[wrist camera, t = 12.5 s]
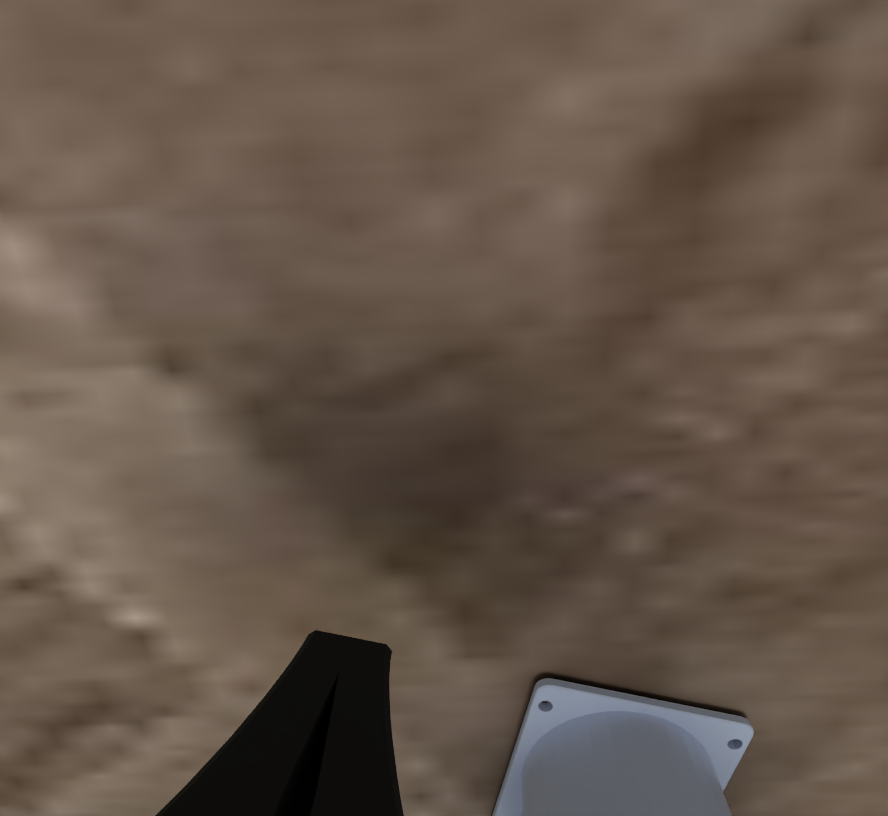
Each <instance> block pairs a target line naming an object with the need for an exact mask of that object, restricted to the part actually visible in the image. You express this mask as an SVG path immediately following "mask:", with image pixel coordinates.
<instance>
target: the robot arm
mask: <svg viewBox="0 0 888 816" xmlns="http://www.w3.org/2000/svg"><path fill="white" fill-rule="evenodd" d="M391 653H392V651H391V649H390V648H389V647H388V646H387V644H382V643H377V642H372V641H367V640H362V639H357V638H352V637H347V636H342V635H337V634H332V633H327V632H322V631H317V630H316V631H314V632H312V633H310V634H309V635H308V636H307V638H306V640H305V641H304V643H303V645H302V646H301V648H300V649H299V651H298V652H297V654H296V655H295V657H294V658H293V660H292V661H291V662H290V664H289V665H288V667H287V668H286V669H285V671H284V672H283V673H282V675H281V676H280V677H279V679H278V680H277V681H276V683H275V684H274V685H273V686H272V688H271V689H270V690H269V692H268V693H267V694H266V696H265V697H264V698H263V699H262V700H261V702H260V703H259V704H258V705H257V706H256V708H255V709H254V710H253V711H252V712H251V714H250V715H249V716H248V717H247V718H246V720H245V721H244V722H243V723H242V724H241V726H240V727H239V728H238V729H237V730H236V731H235V733H234V734H233V735H232V736H231V737H230V738H229V739H228V741H227V742H226V743H225V744H224V745H223V746H222V747H221V748H220V749H219V750H218V751H217V752H216V754H215V755H214V756H213V757H212V758H211V759H210V760H209V761H208V762H207V763H206V764H205V765H204V767H203V768H202V769H201V770H200V771H199V772H198V773H197V774H196V775H195V776H194V777H193V778H192V779H191V781H190V782H189V783H188V784H187V785H186V786H185V787H184V788H183V789H182V790H181V791H180V792H179V793H178V794H177V795H176V796H175V797H174V798H173V799H172V800H171V801H170V802H169V803H168V804H167V805H166V806H165V807H164V808H163V809H162V810H161V811H160V812H159V813H158V814H157V815H156V816H404V815H403V810H402V804H401V799H400V792H399V786H398V779H397V772H396V764H395V756H394V748H393V740H392V730H391V719H390V700H389V672H390V660H391ZM542 701H549V702H547V703H542ZM753 734H754V731H753V728H752V726H751V723H750V721H749V720H748V719H746V718H744V717H741V716H736V715H731V714H726V713H721V712H716V711H711V710H706V709H701V708H696V707H692V706H687V705H682V704H677V703H672V702H667V701H662V700H657V699H652V698H647V697H642V696H637V695H632V694H627V693H622V692H617V691H612V690H607V689H602V688H597V687H592V686H587V685H582V684H577V683H572V682H567V681H562V680H557V679H552V678H545V679H541V680H539V681H538V682H537V683H536V684H535V686H534V689H533V692H532V695H531V698H530V702H529V705H528V708H527V711H526V714H525V717H524V720H523V723H522V726H521V729H520V732H519V735H518V738H517V741H516V744H515V747H514V750H513V753H512V756H511V759H510V763H509V766H508V769H507V772H506V775H505V778H504V781H503V784H502V787H501V790H500V793H499V796H498V799H497V802H496V805H495V808H494V811H493V814H492V816H732V815H731V812H730V810H729V807H728V804H727V801H726V799H725V796H724V793H723V791H724V789H725V787H726V785H727V784H728V782H729V780H730V778H731V776H732V774H733V772H734V771H735V769H736V767H737V765H738V763H739V761H740V759H741V758H742V756H743V754H744V752H745V750H746V748H747V747H748V745H749V743H750V741H751V739H752V737H753ZM732 739H733V740H732Z"/></svg>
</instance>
